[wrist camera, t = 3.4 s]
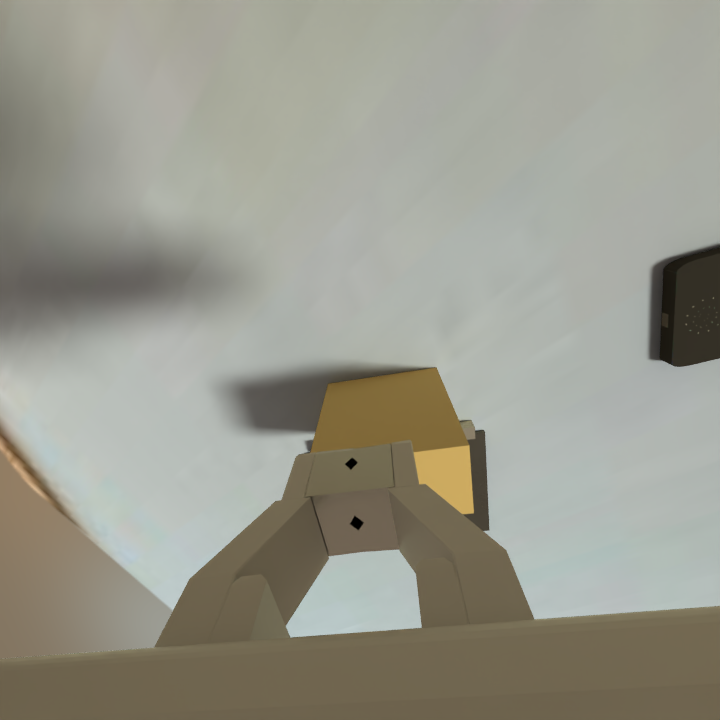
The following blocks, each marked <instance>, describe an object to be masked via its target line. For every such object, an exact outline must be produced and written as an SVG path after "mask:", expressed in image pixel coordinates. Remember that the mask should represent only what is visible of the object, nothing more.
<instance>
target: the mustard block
mask: <svg viewBox="0 0 720 720" xmlns="http://www.w3.org/2000/svg"><path fill="white" fill-rule="evenodd" d="M405 440H411V441H412V446H413V452H414V458H415V463H416V469H417V474H418V480H419V484H426V485H428V486H429V487H430V488H431V489H432V490H434V491H435V492H436V493H437V494H438V495H440V496H441V497H442V498H443V499H445V500H446V501H447V502H448V503H449V504H451V505H452V506H453V507H454V508H455V509H457V510H458V511H459V512H460V513H462V514H471V513H474V507H473V492H472V477H471V463H470V448H469V443H468V441H467V439H466V436H465V434H464V431H463V429H462V427H461V424H460V422H459V420H458V417H457V415H456V413H455V410H454V408H453V405H452V403H451V401H450V398H449V396H448V394H447V391H446V389H445V387H444V384H443V382H442V380H441V377H440V375H439V372H438V370H437V368H429V369H423V370H416V371H409V372H403V373H396V374H389V375H383V376H376V377H369V378H363V379H356V380H349V381H343V382H336V383H329V384H328V386H327V390H326V394H325V398H324V402H323V406H322V409H321V413H320V417H319V421H318V425H317V429H316V433H315V436H314V440H313V444H312V448H311V452H310V453H313V452H316V453H317V452H322V451H331V450H340V449H350V448H361V447H368V446H375V445H383V444H390V443H393V442H399V441H405Z"/></svg>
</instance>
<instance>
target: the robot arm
mask: <svg viewBox="0 0 720 720" xmlns="http://www.w3.org/2000/svg"><path fill="white" fill-rule="evenodd" d="M396 549H399V550H400V552H401V553H402V555H403V556H404V558H405V559H406V560H407V562H408V563H409V565H410V566H411V567H412V569H413V570H414V572H415V573H416V577H417V587H418V596H419V605H420V614H421V623H422V628H415V629H402V630H388V631H375V632H361V633H347V634H333V635H319V636H306V637H292V638H290V636H289V633H288V631H287V629H286V625H287V623H288V621H289V620H290V618H291V617H292V615H293V614H294V612H295V611H296V609H297V607H298V606H299V604H300V603H301V601H302V600H303V598H304V597H305V595H306V593H307V592H308V590H309V589H310V587H311V586H312V584H313V582H314V581H315V579H316V578H317V576H318V575H319V573H320V572H321V570H322V568H323V567H324V565H325V564H326V562H327V561H328V559H329V557H328V556H334V555H342V554H349V553H357V552H366V551H381V550H396ZM0 720H720V606H712V607H699V608H685V609H671V610H658V611H644V612H630V613H617V614H603V615H589V616H576V617H562V618H548V619H534V617H533V615H532V612H531V610H530V607H529V605H528V602H527V600H526V598H525V595H524V593H523V590H522V588H521V585H520V583H519V580H518V578H517V576H516V573H515V571H514V568H513V566H512V563H511V561H510V558H509V556H508V554H507V551H506V550H505V549H504V548H503V547H502V546H500V545H499V544H498V543H497V542H496V541H494V540H493V539H492V538H491V537H489V536H488V535H487V534H486V533H485V532H483V531H482V530H481V529H480V528H479V527H477V526H476V525H475V524H474V523H472V522H471V521H470V520H469V519H468V518H466V517H465V516H464V515H463V514H462V513H460V512H459V511H458V510H457V509H455V508H454V507H453V506H452V505H451V504H449V503H448V502H447V501H446V500H445V499H443V498H442V497H441V496H440V495H438V494H437V493H436V492H435V491H434V490H432V489H431V488H430V487H429V486H428V485H426V484H419V480H418V474H417V469H416V463H415V458H414V452H413V446H412V441H411V440H405V441H399V442H393V443H390V444H383V445H375V446H368V447H361V448H350V449H340V450H331V451H322V452H317V453H316V452H313V453H305V454H299V455H298V456H296V458H295V461H294V464H293V467H292V470H291V473H290V476H289V479H288V482H287V485H286V488H285V491H284V494H283V497H282V500H281V501H275V502H274V503H273V504H272V505H271V506H270V507H269V508H268V509H266V510H265V511H264V512H263V513H262V514H261V515H260V516H259V517H258V518H257V519H255V520H254V521H253V522H252V523H251V524H250V525H249V526H248V527H247V528H245V529H244V530H243V531H242V532H241V533H240V534H239V535H238V536H237V537H236V538H234V539H233V540H232V541H231V542H230V543H229V544H228V545H227V546H226V547H224V548H223V549H222V550H221V551H220V552H219V553H218V554H217V555H216V556H215V557H213V558H212V559H211V560H210V561H209V562H208V563H207V564H206V565H205V566H203V567H202V568H201V569H200V570H199V571H198V572H197V573H196V574H195V575H194V576H192V577H191V578H190V579H189V581H188V583H187V585H186V587H185V589H184V591H183V593H182V595H181V597H180V599H179V600H178V602H177V604H176V606H175V608H174V610H173V612H172V614H171V616H170V618H169V620H168V622H167V624H166V626H165V628H164V629H163V631H162V633H161V635H160V637H159V639H158V641H157V643H156V645H155V647H154V648H141V649H128V650H114V651H100V652H87V653H74V654H61V655H46V656H32V657H19V658H5V659H0Z"/></svg>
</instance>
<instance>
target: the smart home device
mask: <svg viewBox="0 0 720 720" xmlns="http://www.w3.org/2000/svg"><path fill="white" fill-rule="evenodd" d="M719 358H720V247H719V248H716V249H712V250H709V251H705V252H701V253H698V254H694V255H691V256H687V257H683V258H680V259H678V260H675V261H673V262H671V263H670V264H668V265H667V266H666V267H665V268H664V271H663V295H662V318H661V341H660V359H661V360H663V361H665V362H667V363H669V364H671V365H673V366H677V367H682V366H688V365H693V364H697V363H701V362H706V361H710V360H714V359H719Z"/></svg>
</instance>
